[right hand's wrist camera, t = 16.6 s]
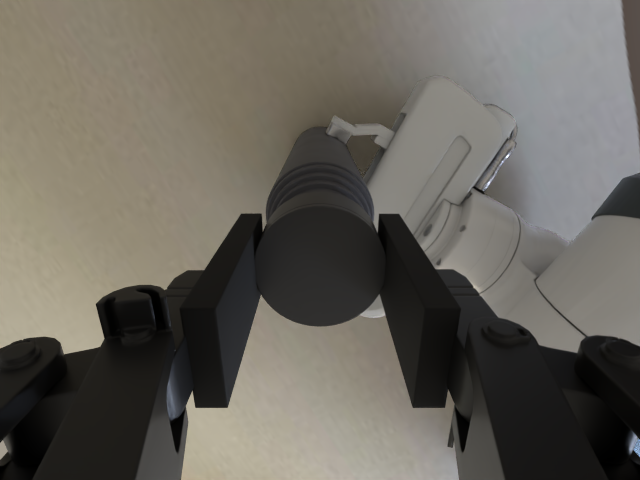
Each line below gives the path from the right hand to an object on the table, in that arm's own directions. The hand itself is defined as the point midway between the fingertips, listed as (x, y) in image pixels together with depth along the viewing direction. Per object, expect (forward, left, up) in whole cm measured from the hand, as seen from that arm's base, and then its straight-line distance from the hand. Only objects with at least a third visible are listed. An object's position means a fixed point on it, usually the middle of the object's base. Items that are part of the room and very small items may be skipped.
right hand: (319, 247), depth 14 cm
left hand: (-1, -1, -17) cm, 17 cm away
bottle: (0, 0, -23) cm, 23 cm away
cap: (0, 0, +2) cm, 2 cm away
